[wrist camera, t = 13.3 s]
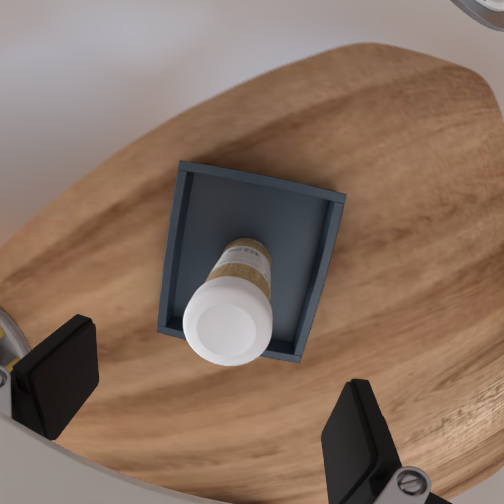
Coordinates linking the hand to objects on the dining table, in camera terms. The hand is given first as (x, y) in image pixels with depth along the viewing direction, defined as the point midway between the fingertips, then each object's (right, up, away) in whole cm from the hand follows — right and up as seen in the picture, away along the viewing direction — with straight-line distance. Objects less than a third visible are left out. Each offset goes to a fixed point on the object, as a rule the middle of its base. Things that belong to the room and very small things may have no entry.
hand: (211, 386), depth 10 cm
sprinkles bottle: (+1, +4, +18) cm, 18 cm away
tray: (+1, +4, +18) cm, 19 cm away
